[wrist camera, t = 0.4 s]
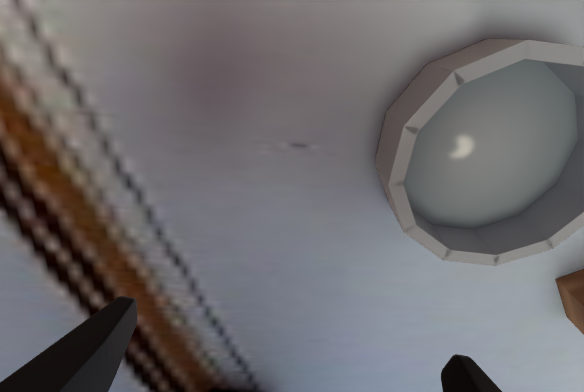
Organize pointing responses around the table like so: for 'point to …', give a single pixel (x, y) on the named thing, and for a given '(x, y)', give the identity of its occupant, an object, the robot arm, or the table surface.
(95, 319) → the robot arm
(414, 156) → the shallow grey bowl
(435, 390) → the table surface
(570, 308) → the walnut block
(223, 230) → the table surface
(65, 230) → the table surface
